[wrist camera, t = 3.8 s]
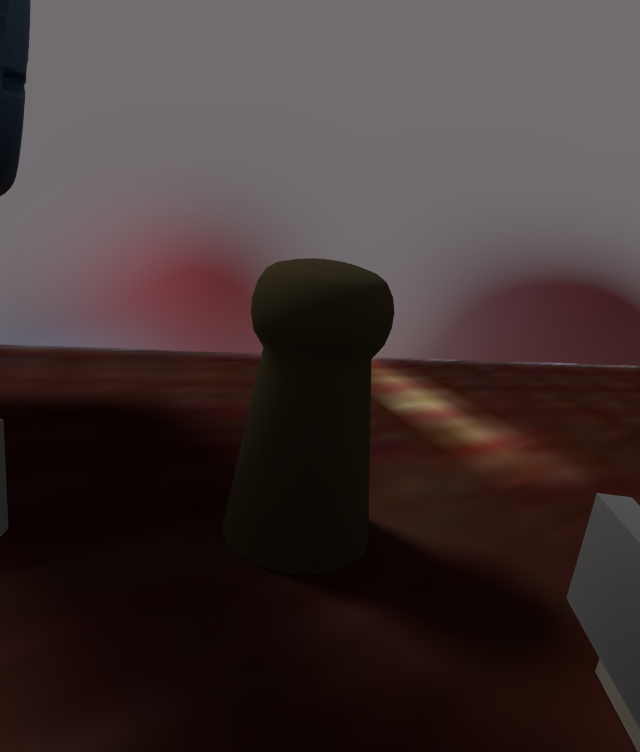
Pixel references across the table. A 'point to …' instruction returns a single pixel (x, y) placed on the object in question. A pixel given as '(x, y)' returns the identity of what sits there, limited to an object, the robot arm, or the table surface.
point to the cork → (309, 418)
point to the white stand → (619, 705)
